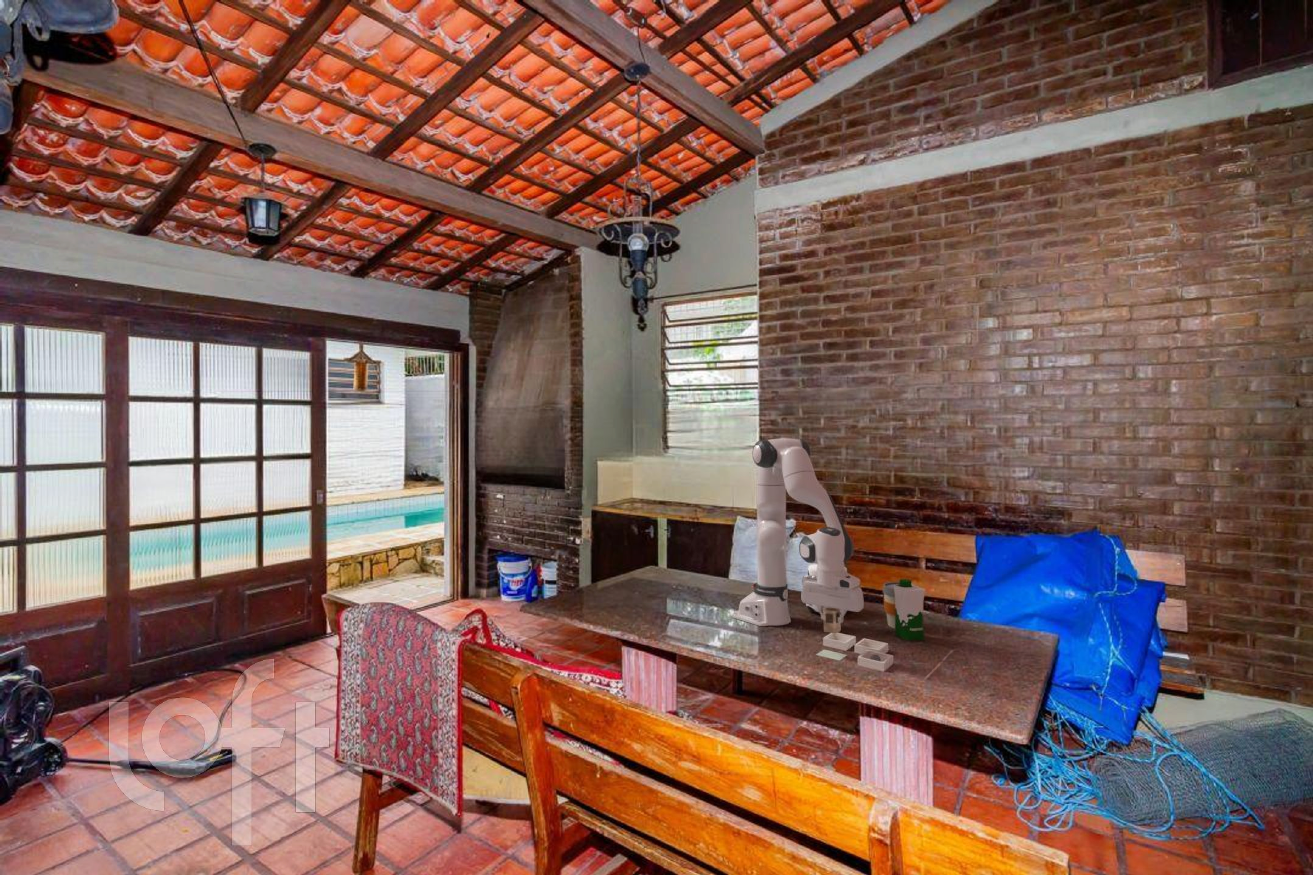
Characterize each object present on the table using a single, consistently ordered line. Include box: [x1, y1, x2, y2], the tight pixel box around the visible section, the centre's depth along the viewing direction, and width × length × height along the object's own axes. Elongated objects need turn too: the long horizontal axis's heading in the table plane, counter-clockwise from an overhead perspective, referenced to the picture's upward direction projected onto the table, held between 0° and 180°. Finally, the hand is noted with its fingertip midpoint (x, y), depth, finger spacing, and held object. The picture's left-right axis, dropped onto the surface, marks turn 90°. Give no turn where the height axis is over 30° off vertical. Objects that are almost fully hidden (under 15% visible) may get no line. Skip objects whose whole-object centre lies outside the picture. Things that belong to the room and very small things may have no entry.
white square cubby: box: [854, 637, 889, 655], centre depth 205 cm, size 8×8×3 cm
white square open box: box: [857, 650, 894, 672], centre depth 194 cm, size 8×8×3 cm
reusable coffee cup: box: [882, 581, 917, 629], centre depth 233 cm, size 13×13×15 cm
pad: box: [815, 649, 848, 661], centre depth 202 cm, size 8×6×1 cm
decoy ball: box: [870, 654, 881, 661], centre depth 194 cm, size 3×3×3 cm
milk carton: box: [893, 578, 926, 642], centre depth 219 cm, size 9×9×20 cm
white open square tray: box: [822, 632, 857, 651], centre depth 212 cm, size 8×8×3 cm
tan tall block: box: [823, 607, 842, 634], centre depth 202 cm, size 4×4×7 cm
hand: (832, 620), depth 202 cm, fingers closed on tan tall block, 4 cm apart
